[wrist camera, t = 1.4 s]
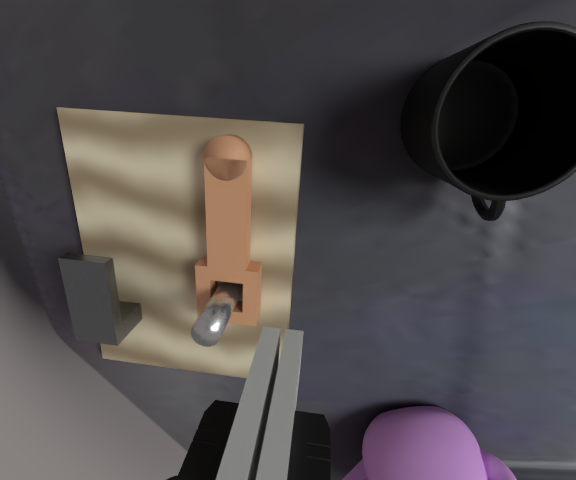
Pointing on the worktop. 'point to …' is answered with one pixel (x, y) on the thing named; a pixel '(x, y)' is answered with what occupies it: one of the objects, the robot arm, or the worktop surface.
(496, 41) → the mug
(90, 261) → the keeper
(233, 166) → the link
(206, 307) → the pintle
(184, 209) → the board
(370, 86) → the worktop surface
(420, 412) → the teapot
